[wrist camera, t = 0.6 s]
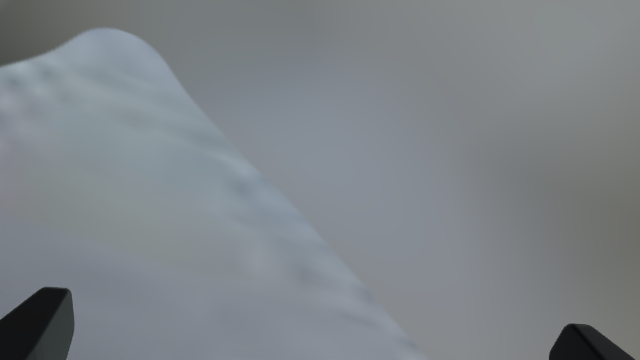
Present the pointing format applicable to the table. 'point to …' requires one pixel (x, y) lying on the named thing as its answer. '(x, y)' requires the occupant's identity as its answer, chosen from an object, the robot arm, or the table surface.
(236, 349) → the table surface
